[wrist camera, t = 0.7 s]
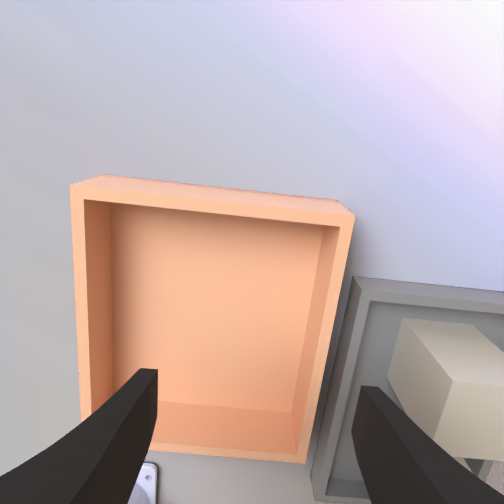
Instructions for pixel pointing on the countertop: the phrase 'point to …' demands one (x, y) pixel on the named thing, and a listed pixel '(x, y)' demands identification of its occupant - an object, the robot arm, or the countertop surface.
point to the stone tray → (385, 366)
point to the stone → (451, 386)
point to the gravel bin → (208, 308)
